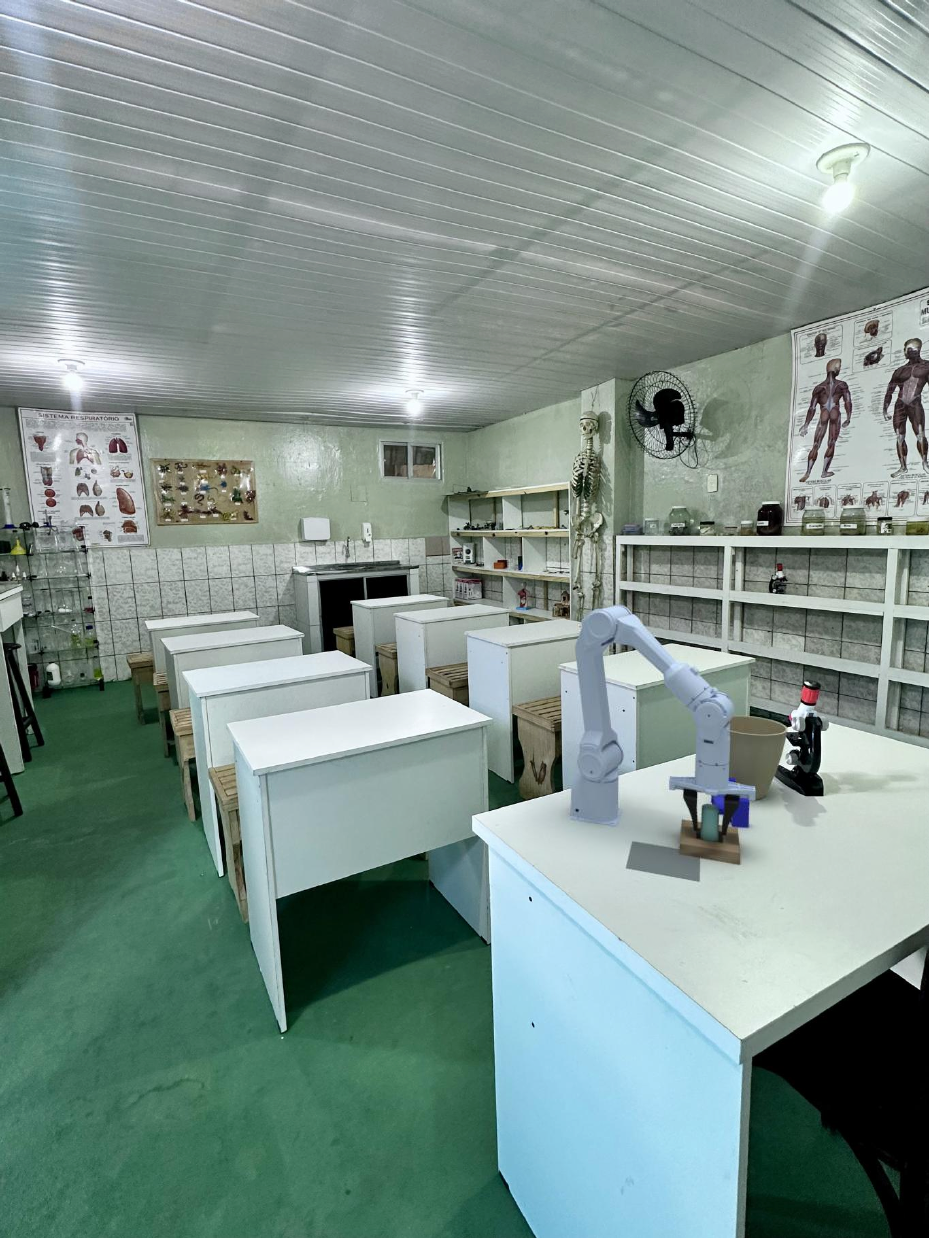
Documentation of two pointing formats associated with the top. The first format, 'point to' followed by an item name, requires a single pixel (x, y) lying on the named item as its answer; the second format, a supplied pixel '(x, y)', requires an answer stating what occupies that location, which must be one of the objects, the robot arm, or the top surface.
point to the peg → (709, 822)
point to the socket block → (710, 844)
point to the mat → (663, 861)
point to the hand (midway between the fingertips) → (709, 830)
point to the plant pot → (755, 751)
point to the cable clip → (741, 813)
